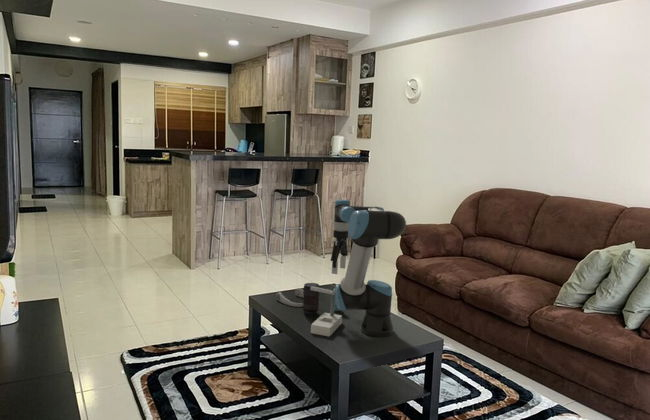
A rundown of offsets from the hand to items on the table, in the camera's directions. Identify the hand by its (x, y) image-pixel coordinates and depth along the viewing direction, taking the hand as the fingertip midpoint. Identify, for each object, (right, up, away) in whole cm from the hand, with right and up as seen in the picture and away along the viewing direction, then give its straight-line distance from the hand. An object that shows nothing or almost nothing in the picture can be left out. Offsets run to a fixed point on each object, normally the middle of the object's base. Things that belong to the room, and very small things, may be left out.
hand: (338, 270), depth 256 cm
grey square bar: (-8, -8, -15) cm, 19 cm away
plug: (-1, -21, +4) cm, 21 cm away
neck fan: (-22, -19, +14) cm, 32 cm away
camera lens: (-14, -21, -4) cm, 26 cm away
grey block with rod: (-6, -24, -22) cm, 33 cm away
